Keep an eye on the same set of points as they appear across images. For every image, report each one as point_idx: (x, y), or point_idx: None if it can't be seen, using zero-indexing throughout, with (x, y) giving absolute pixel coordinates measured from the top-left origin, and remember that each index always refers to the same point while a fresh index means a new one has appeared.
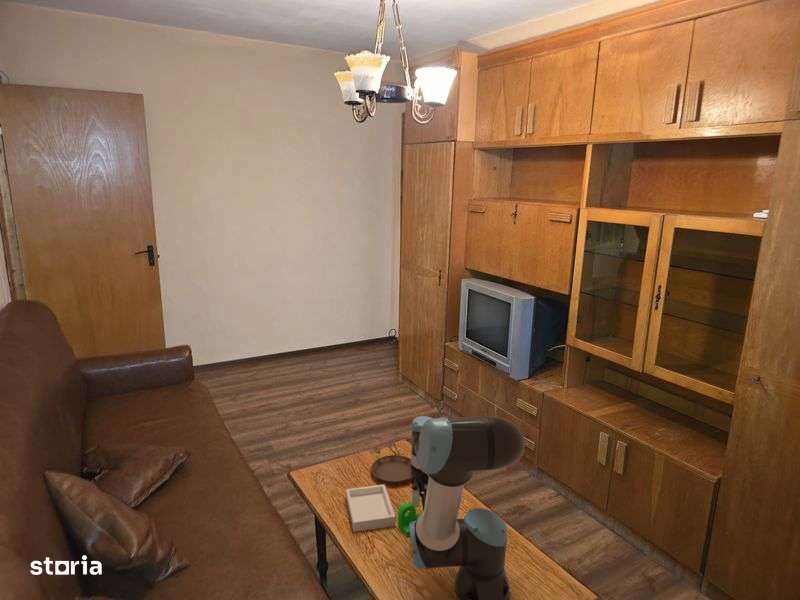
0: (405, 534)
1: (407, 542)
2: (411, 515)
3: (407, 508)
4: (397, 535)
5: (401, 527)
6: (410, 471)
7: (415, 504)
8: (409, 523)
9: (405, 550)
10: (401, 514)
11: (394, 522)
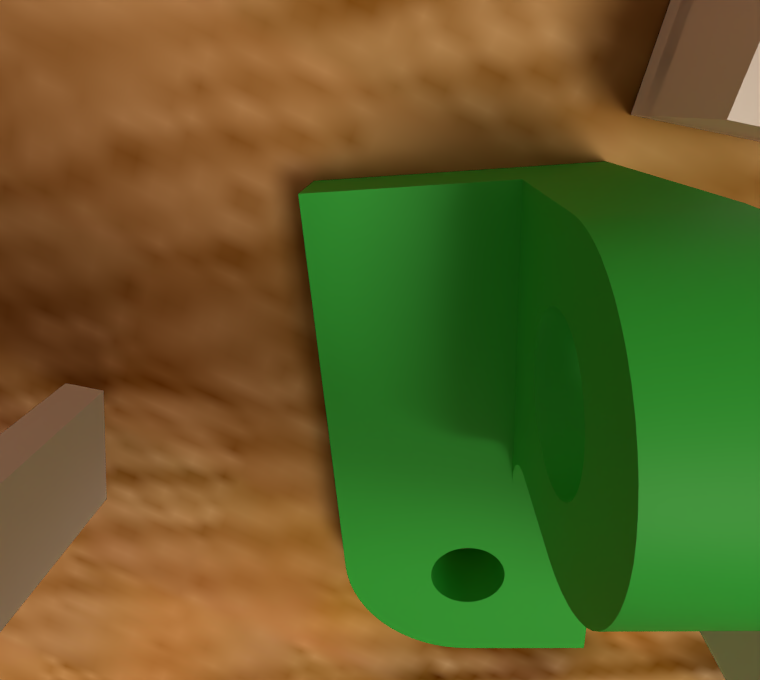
0: (353, 179)
1: (199, 139)
2: (538, 434)
3: (617, 482)
4: (400, 47)
5: (495, 174)
6: None
7: None
8: (478, 326)
9: (38, 28)
10: (590, 235)
11: (664, 97)
